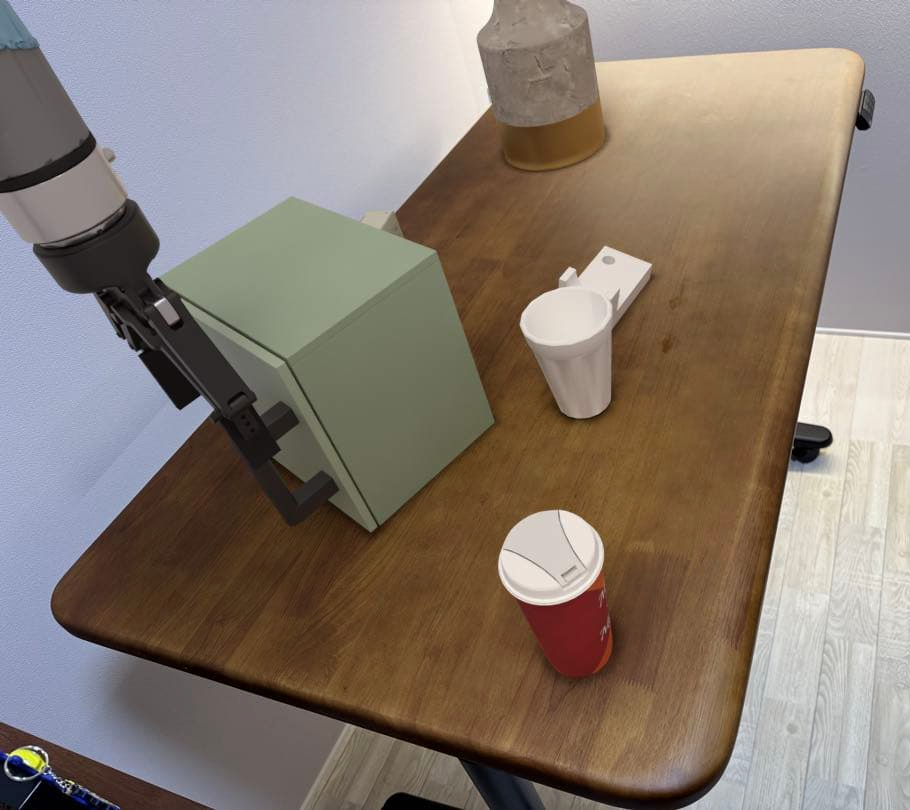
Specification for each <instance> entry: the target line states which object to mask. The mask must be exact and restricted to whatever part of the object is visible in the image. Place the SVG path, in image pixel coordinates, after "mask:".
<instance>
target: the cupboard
mask: <svg viewBox="0 0 910 810" xmlns="http://www.w3.org/2000/svg"><path fill="white" fill-rule="evenodd" d="M158 278H160V279H161V280H162V281H163V283H164V284H165V285H166V286H167V287H168V288H169V290H173V291H174V292H175V293H178V294H179V296H180V297H181V298H182V299H184V300H185V301H187V302H188V303H190V304H192V305H193V306H195V307H197V308H198V309H200V310H201V311H203V312H205V313H206V314H208V315H210V316H211V317H213V318H214V319H216V320H218V321H219V322H221V323H223V324H224V325H226V326H227V327H229V328H231V329H232V330H234V331H236V332H237V333H239V334H240V335H242V336H244V337H245V338H247V339H248V340H250V341H252V342H253V343H255V344H257V345H258V346H260V347H261V348H263V349H265V350H266V351H268V352H270V353H271V354H273V355H274V356H276V357H278V358H279V359H281V360H283V361H284V362H285V363H286V365H287V366H288V368H289V370H290V372H291V374H292V375H293V377H294V379H295V381H296V382H297V384H298V386H299V388H300V389H301V391H302V393H303V395H304V397H305V398H306V400H307V402H308V404H309V405H310V407H311V409H312V411H313V413H314V414H315V416H316V418H317V420H318V421H319V423H320V425H321V427H322V429H323V430H324V432H325V434H326V436H327V437H328V439H329V441H330V443H331V445H332V446H333V448H334V450H335V452H336V453H337V455H338V457H339V459H340V460H341V462H342V464H343V466H344V468H345V469H346V471H347V473H348V475H349V476H350V478H351V480H352V482H353V484H354V485H355V487H356V489H357V491H358V492H359V494H360V496H361V498H362V500H363V501H364V503H365V505H366V507H367V508H368V510H369V512H370V514H371V516H372V517H373V519H374V521H375V523H376V524H377V525H379V526H382V525H383V524H384V523H385V522H386V521H387V520H388V519H389V518H390V517H392V516H393V515H394V514H395V513H396V512H397V511H398V510H400V509H401V508H402V507H403V506H404V505H405V504H406V503H407V502H408V501H409V500H411V499H412V498H413V497H414V496H415V495H416V494H417V493H418V492H420V490H422V488H424V487H425V486H426V485H428V483H429V482H431V481H432V480H433V479H434V478H435V477H437V475H439V473H441V472H442V471H444V469H445V468H446V467H447V466H449V464H451V463H452V462H453V461H454V460H455V459H456V458H457V457H458V456H460V454H461V453H463V452H464V451H465V450H466V449H467V448H468V447H469V446H470V445H472V444H473V443H474V442H475V441H476V440H477V439H478V438H479V437H481V436H482V435H483V434H484V433H485V432H487V430H488V429H489V428H491V427H492V426H493V425H494V424H495V423H496V421H495V418H494V415H493V412H492V408H491V407H490V404H489V400H488V398H487V394H486V392H485V389H484V386H483V382H482V380H481V377H480V374H479V371H478V368H477V366H476V362H475V360H474V356H473V353H472V350H471V348H470V345H469V342H468V339H467V336H466V334H465V330H464V327H463V324H462V322H461V319H460V315H459V313H458V309H457V306H456V304H455V301H454V299H453V295H452V292H451V289H450V286H449V284H448V281H447V278H446V275H445V272H444V268H443V266H442V263H441V260H440V257H439V254H438V252H437V250H436V249H433V248H431V247H427V246H425V245H422V244H420V243H417V242H414V241H412V240H409V239H407V238H405V237H404V238H401V237H399V236H396V235H394V234H391V233H388V232H386V231H383V230H380V229H378V228H375V227H372V226H370V225H367V224H364V223H362V222H360V220H356V219H354V218H351V217H349V216H347V215H343V214H340V213H339V212H338V213H337V212H336V211H333V210H330V209H327V208H324V207H322V206H319V205H318V204H317V205H316V204H314V203H311V202H309V201H306V200H303V199H301V198H298V197H295V196H293V195H292V196H289V197H287V198H286V199H284V200H283V201H281V202H279V203H278V204H277V205H275V206H273V207H271V208H270V209H268V210H267V211H265V212H263V213H261V214H260V215H259V216H257V217H255V218H254V219H251V220H250V221H249V222H246V223H245V224H244V225H242V226H240V227H239V228H237V229H235V230H234V231H232V232H230V233H229V234H227V235H226V236H224V237H222V238H221V239H219V240H217V241H216V242H214V243H212V244H210V245H209V246H207V247H206V248H205V249H203V250H201V251H199V252H197V253H196V254H195V255H193V256H192V257H190V258H188V259H186V260H185V261H183V262H182V263H180V264H178V265H176V266H175V267H173V268H172V269H170V270H168V271H167V272H165V273H163V274H162V275H160V276H159V277H158Z"/></svg>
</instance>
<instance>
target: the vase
mask: <svg viewBox="0 0 910 810" xmlns="http://www.w3.org/2000/svg"><path fill="white" fill-rule="evenodd" d="M590 29H591V28H590V21H589V15H588V13H587V10H585V8H583V7H582V6H581V5H578V4H575V3H572V2H570V1H569V0H493V7H492V13H491V15H490V18H489V19H488V21H487V22H486V23H485V24H484V25H483V27H481V29H480V30H479V31H478V33H477V35H476V45H477V48H478V53H479V58H480V62H481V65H482V69H483V74H484V77H485V81H486V85H487V89H488V94H489V97H490V101H491V106H492V110H493V113H494V118H495V122H496V126H497V130H498V134H499V138H500V142H501V143H500V144H501V146H502V151H503V154H504V158H505V161H506V162H507V164H509V166H511V167H513V168H515V169H518V170H522V171H527V172H547V171H554V170H559V169H562V168H563V169H564V168H568V167H570V166H574V165H577V164H579V163H581V162H583V161H585V160H587V159H589V158H591V157H592V156H593V155H594V154H596V153H597V152H598V151H599V150H600V149H601V148H602V147H603V146H604V144H605V142H606V139H607V138H606V130H605V124H604V117H603V116H604V115H603V110H602V102H601V97H600V89H599V82H598V77H597V68H596V62H595V56H594V55H595V54H594V49H593V43H592V42H593V41H592V35H591V30H590Z"/></svg>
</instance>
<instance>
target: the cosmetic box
mask: <svg viewBox="0 0 910 810" xmlns="http://www.w3.org/2000/svg"><path fill="white" fill-rule="evenodd" d="M359 222H362V223H364V224H367V225H370V226H372V227H375V228H378V229H380V230H383V231H386V232H388V233H391V234H394V235H396V236H399V237H401V238H404V239H405V236H404V234H403V232H402V231H403V230H402V228H401V226H400V223H399V221H398V218H397V216H396V213H395V210H394V209H381V210H378V209H377V210H367V211H366V213H364V215H363V217H362V218H361V219H360V220H359Z"/></svg>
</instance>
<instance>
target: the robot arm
mask: <svg viewBox="0 0 910 810" xmlns="http://www.w3.org/2000/svg"><path fill="white" fill-rule="evenodd" d="M40 46H41V45H40V42H39V41H38V39H37V38H36V37H34V36H33V35H32V33H31V32H30V31H29V29H28V28H27V26H26V25H25V23H24V22H23V21H22V19H21V17H20V16H19V15H18V14H17V12H16V11H15V9H14V8H13V7H12V5H11V3H10V2H9V0H0V213H1V214H2V215H3V216H4V218H5V219H6V221H7V222H8V223H9V224H10V225H11V227H12V229H13V230H14V231H15V232H16V234H17V235H18V236H19V237H20V239H21V240H22V241H24V242H26V243H28V244H32V252H33V254H34V256H35V257H36V258H37V259H38V261H39V262H40V263H41V264H42V266H43V267H44V268H45V270H46V271H47V272H48V274H49V275H50V276H51V278H52V279H53V281H55V283H56V284H57V286H58V287H59V288H61V289H62V290H63V291H65V292H68V293H70V294H74V295H75V294H76V295H87V294H92V295H93V296H94V298H95V300H96V302H97V303H98V305H99V306H100V309H102V312H103V313H104V314H105V316H106V319H108V321H109V323H110V325H111V327H112V328H113V330H114V331H115V335H116V336H117V337H118V338H119V339H121V340H122V341H125V340H126V342H127V345H128V347H129V348H130V350H131V351H134V352H135V353H138V352H140V351H141V353H139V354H137V357H138V358H139V360H140V361H141V362H142V364H143V365H144V366H145V368H146V369H147V370H148V372H149V373H150V374H151V375H152V377H153V379H154V380H155V381H156V382H157V384H158V385H159V387H160V388H161V389H162V390H163V392H164V393H165V395H166V396H167V397H168V399H169V400H170V401H171V403H172V404H173V405H174V407H175V408H176V409H177V410H178V411H182V410H183V409H185V408H186V407H187V406H189V405H190V404H192V403H193V402H194V401H196V400H197V399H198V398H200V397H203V399H205V401H206V402H207V403H208V404H209V405H210V406H211V408H212V409H213V411H212V412H211V413H212V414H210V415H209V417H208V420H209V421H210V422H211V423H212V424H217V423H219V425H220V427H222V429H223V430H224V432H225V433H226V435H227V437H229V439H230V441H231V440H232V442H233V443H234V445H235V446H236V447H237V449H238V450H239V452H240V453H241V455H242V456H243V457H244V459H245V460H246V462H247V463H248V465H249V466H250V467H251V468H252V469H253V470H254V471H256V470H257V469H258V468H259V467H261V466H262V465H263V464H265V463H266V462H267V461H268V460H270V461H271V459H273V456H275V455H276V454H277V453H278V452H280V451H281V449H280V447H279V446H278V444H277V442H276V441H275V439H274V438H273V436H272V435H271V433H270V432H269V430H268V428H267V427H266V425H265V424H264V422H263V421H262V419H261V418H260V416H259V414H258V413H257V411H256V410H255V408H254V407H253V405H252V404H253V403H254V402H256V401H257V397H256V395H255V393H254V392H253V391H252V390H250V389H249V387H248V386H247V385H246V383H245V382H244V381H243V380H242V378H241V377H240V376H239V375H238V373H237V372H236V371H235V370H234V368H233V367H232V366H231V365H230V363H229V362H228V361H227V360H226V358H225V357H224V356H223V355H222V353H221V352H220V351H219V349H218V348H217V347H216V346H215V344H214V343H213V342H212V341H211V339H210V338H209V337H208V336H207V334H206V333H205V332H204V331H203V329H202V328H201V327H200V326H199V324H198V323H197V322H196V321H195V319H194V318H193V317H192V315H191V314H190V312H189V311H188V309H187V308H186V306H185V305H184V303H183V302H182V301H181V297H180V296H179V294H178V293H175V292H174V291H173V290H169V288H168V287H167V286H166V285H165V284H164V283H163V281H162V280H161V279H160V278H159V277H155V278H154V279H153V278H152V276H151V274H150V273H149V272H148V269H149V267H150V265H151V263H152V261H153V260H154V259H155V258H156V257H157V256H158V253H159V251H160V248H161V241H160V237H159V236H158V233H156V231H155V229H154V228H153V226H152V224H151V223H150V222H149V220H148V218H147V216H146V214H144V212H143V211H142V209H141V207H140V205H139V204H138V203H137V201H135V200H133V199H130V198H128V196H129V190H128V188H127V187H126V185H125V183H124V182H123V181H122V178H121V177H120V175H119V173H118V172H117V170H115V169H114V168H113V166H112V163H113V162H114V161H115V160H116V159H117V157H116V154H115V152H114V150H112V149H111V148H109V147H103V148H102V147H101V146H100V143H98V142H97V138H96V137H95V136H94V135H93V133H92V132H91V131H92V130H90V128H89V127H88V126H87V124H86V122H85V121H84V119H83V117H82V115H81V114H80V112H79V111H78V109H77V107H76V106H75V104H74V103H73V100H72V99H71V97H70V95H69V94H68V92H67V90H66V89H65V87H64V86H63V84H62V83H61V81H60V78H59V77H58V76H57V74H56V72H55V71H54V69H53V67H52V66H51V64H50V62H49V61H48V59H47V58H46V56H45V54H44V53H43V51H42V49H41V48H40Z"/></svg>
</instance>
